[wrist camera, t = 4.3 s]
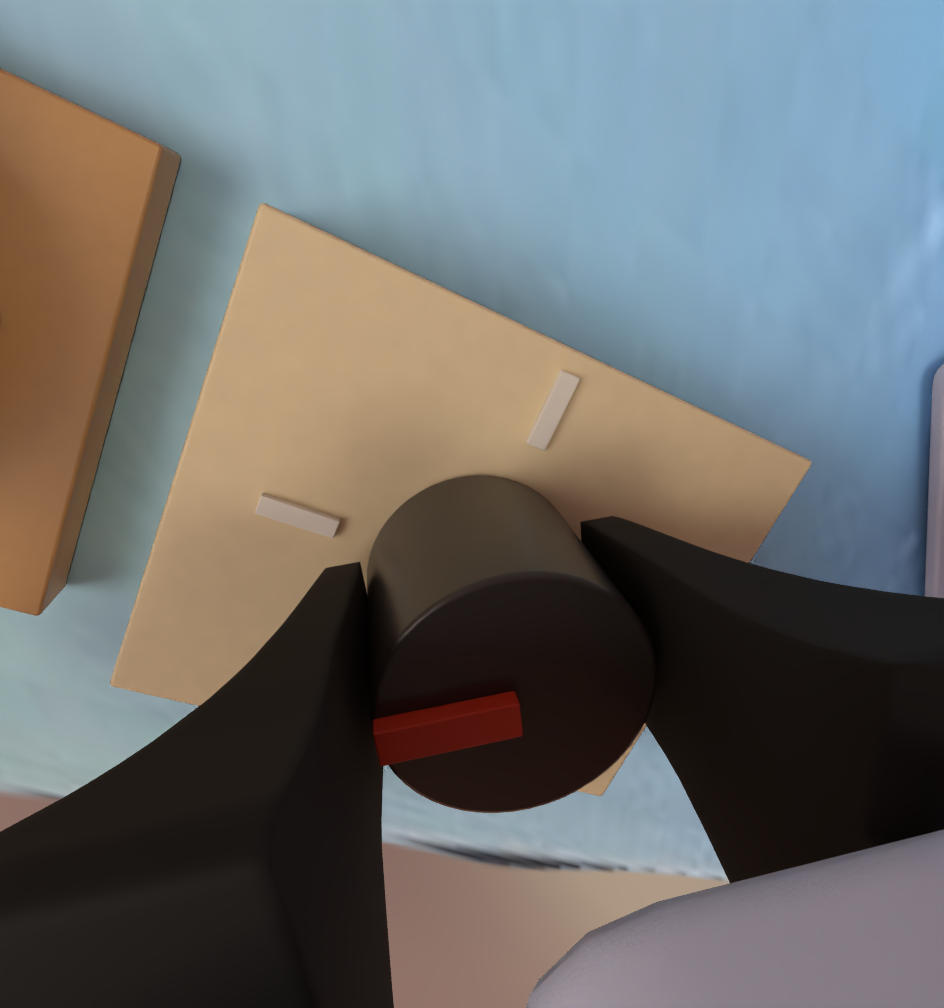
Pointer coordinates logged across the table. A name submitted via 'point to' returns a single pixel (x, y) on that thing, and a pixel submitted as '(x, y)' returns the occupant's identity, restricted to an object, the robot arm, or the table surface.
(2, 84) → the block
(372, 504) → the hob panel
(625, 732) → the burner knob
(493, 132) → the table surface
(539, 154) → the table surface
